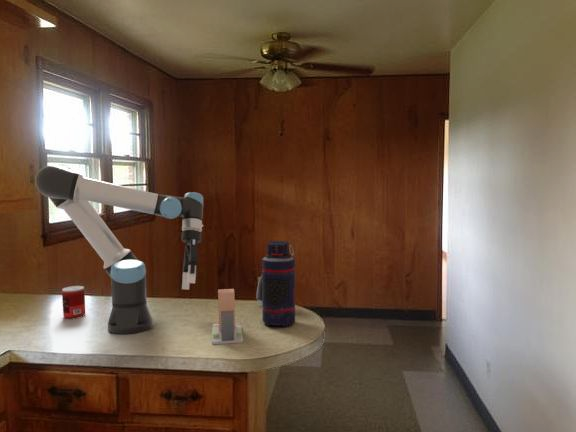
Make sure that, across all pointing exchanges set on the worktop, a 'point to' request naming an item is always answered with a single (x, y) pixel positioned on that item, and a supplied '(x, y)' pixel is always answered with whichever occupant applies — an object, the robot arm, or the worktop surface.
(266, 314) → the navy red-striped canister
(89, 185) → the robot arm
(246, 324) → the worktop surface
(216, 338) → the gauge base
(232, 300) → the tall salmon pillar
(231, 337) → the dark grey rubber block
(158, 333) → the worktop surface
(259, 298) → the pump dispenser
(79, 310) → the canned food
